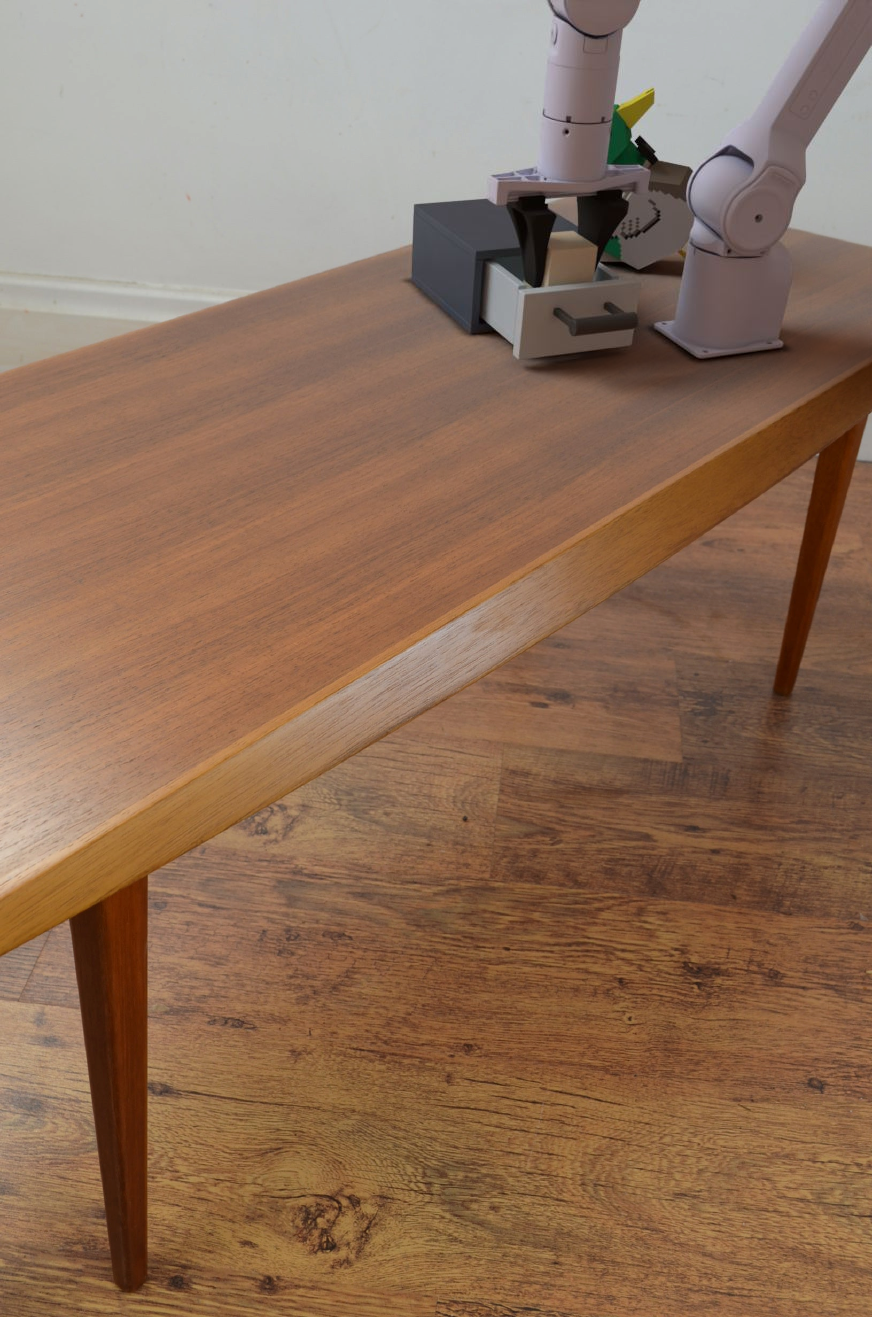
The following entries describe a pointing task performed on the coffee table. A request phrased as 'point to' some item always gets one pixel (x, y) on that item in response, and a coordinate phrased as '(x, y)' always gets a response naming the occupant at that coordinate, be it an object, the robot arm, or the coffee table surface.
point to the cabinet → (462, 253)
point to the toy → (647, 195)
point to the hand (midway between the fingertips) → (558, 281)
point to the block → (568, 260)
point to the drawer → (558, 310)
